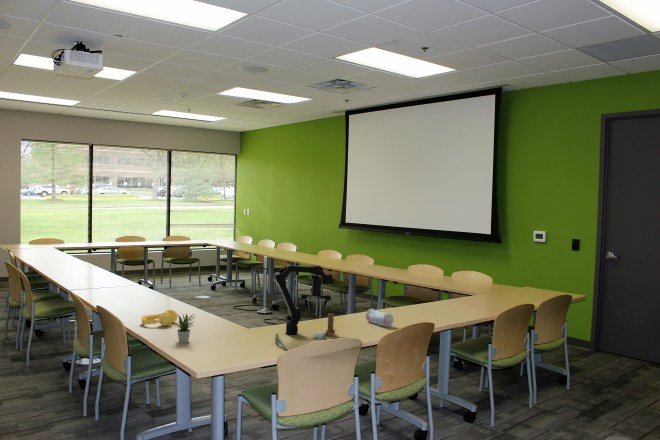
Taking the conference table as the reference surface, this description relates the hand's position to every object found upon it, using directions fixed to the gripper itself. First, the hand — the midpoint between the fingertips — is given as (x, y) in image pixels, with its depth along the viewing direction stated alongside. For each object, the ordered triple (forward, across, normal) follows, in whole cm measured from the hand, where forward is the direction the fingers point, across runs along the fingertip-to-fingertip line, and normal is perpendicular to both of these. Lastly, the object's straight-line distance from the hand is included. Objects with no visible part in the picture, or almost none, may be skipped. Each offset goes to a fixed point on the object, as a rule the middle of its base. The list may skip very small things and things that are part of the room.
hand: (316, 310), depth 322 cm
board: (+13, -4, +12) cm, 18 cm away
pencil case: (+13, -40, -26) cm, 49 cm away
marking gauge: (+13, -10, +8) cm, 18 cm away
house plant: (+13, +70, +35) cm, 79 cm away
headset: (+13, +102, -2) cm, 103 cm away
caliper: (+14, +14, +40) cm, 45 cm away
